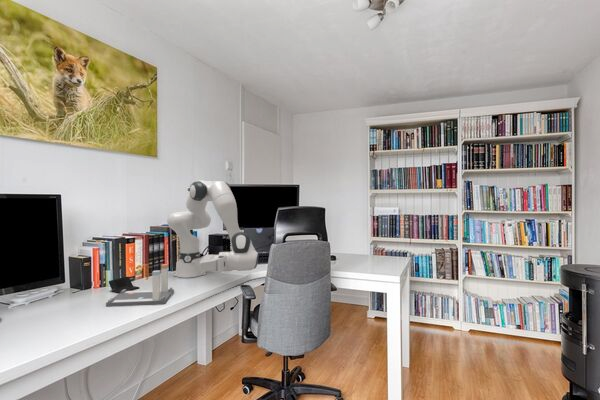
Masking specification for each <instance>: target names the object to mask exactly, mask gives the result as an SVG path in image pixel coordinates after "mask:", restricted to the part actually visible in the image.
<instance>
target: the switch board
mask: <svg viewBox="0 0 600 400" xmlns="http://www.w3.org/2000/svg"><path fill="white" fill-rule="evenodd" d="M174 293H175V289H173V287H168V290H167V291H161V289H160V299H159V300H152V296H153V289H149V290H145V289H144V290H143V289H142V290H133V291H126V289H123V290H122V291H121V293H119V294H118V293H117V294H116V295H115V296H114V297H111V298H110V299H108V300H107V302H106V303H105V307H109V308H110V307H125V306H127V307H129V306H150V305H153V306H154V305H165V304H166V303H167V302H168V300H169V299H170V298H171V297H172V295H174Z"/></svg>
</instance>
